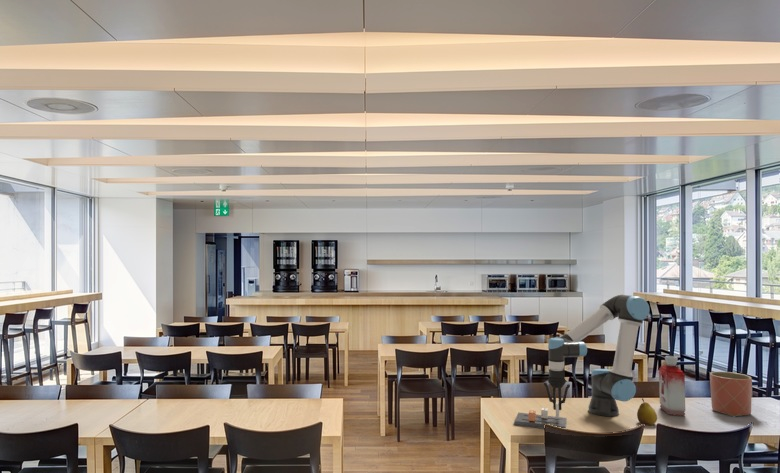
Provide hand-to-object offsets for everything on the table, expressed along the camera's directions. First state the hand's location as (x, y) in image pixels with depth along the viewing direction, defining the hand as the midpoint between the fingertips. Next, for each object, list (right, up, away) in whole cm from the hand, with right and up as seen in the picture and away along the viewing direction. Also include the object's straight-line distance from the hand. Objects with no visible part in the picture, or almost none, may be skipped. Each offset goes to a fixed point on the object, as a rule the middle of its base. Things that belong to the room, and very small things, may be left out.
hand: (557, 416), depth 254 cm
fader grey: (-6, -1, +2) cm, 6 cm away
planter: (+101, -5, +20) cm, 103 cm away
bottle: (+69, -5, +20) cm, 72 cm away
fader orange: (-14, -1, -3) cm, 14 cm away
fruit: (+45, -4, 0) cm, 46 cm away
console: (-9, -3, -1) cm, 9 cm away
